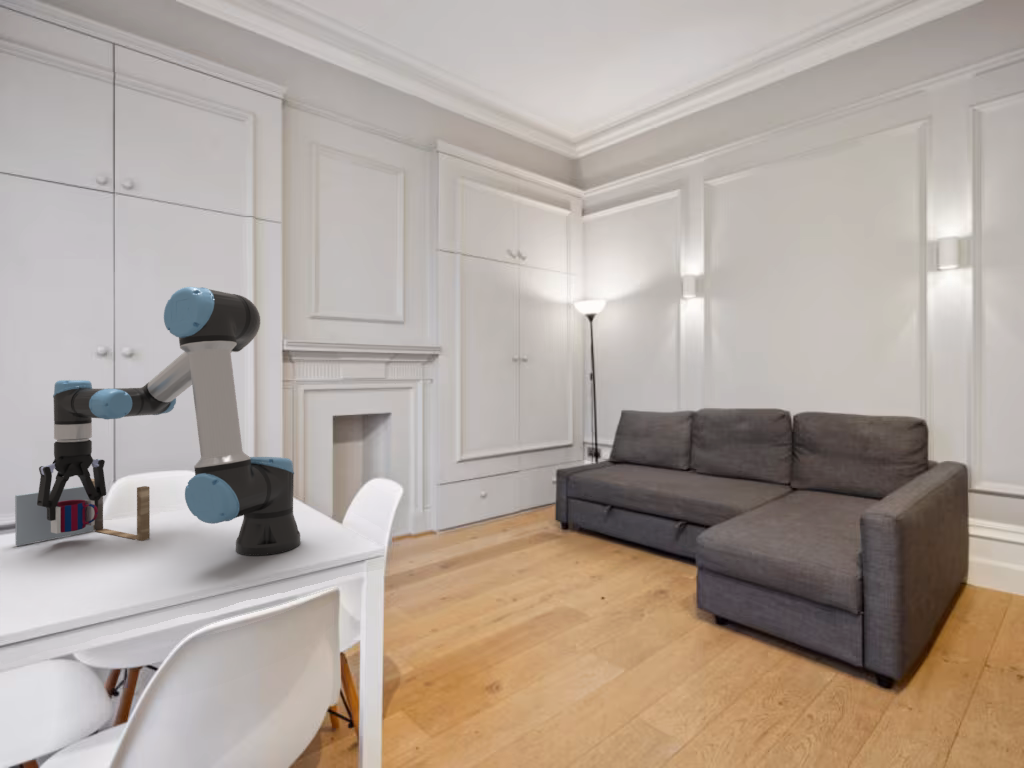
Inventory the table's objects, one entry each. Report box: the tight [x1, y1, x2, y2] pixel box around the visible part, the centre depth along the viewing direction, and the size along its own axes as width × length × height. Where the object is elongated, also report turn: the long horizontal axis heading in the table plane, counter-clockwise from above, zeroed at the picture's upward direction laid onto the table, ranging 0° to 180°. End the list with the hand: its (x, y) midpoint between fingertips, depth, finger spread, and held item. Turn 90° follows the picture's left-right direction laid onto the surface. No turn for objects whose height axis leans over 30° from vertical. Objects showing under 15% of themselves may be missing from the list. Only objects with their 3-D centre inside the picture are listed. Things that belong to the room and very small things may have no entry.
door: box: [14, 485, 94, 547], centre depth 142 cm, size 16×3×13 cm, turn 146°
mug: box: [57, 500, 98, 532], centre depth 138 cm, size 7×10×7 cm
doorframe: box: [91, 478, 151, 542], centre depth 147 cm, size 26×2×15 cm, turn 66°
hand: (73, 528), depth 137 cm, fingers closed on mug, 7 cm apart
